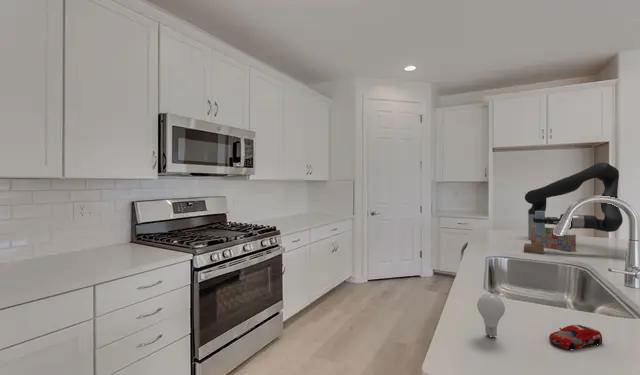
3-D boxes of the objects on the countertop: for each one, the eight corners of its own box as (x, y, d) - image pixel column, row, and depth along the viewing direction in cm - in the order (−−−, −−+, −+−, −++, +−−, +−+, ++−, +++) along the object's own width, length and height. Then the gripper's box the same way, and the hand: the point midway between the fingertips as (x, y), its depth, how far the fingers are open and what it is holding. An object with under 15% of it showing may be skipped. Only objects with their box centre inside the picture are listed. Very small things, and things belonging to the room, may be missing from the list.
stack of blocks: (576, 250, 183) (576, 229, 183) (569, 252, 180) (569, 229, 180) (536, 244, 202) (536, 224, 202) (530, 245, 199) (530, 225, 199)
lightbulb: (473, 331, 87) (472, 290, 87) (497, 331, 87) (496, 290, 87) (484, 342, 81) (484, 299, 81) (510, 342, 81) (509, 299, 81)
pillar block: (535, 232, 183) (535, 210, 182) (543, 232, 181) (543, 211, 181) (536, 233, 179) (536, 211, 179) (544, 233, 177) (544, 211, 177)
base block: (524, 250, 188) (524, 243, 188) (543, 251, 182) (543, 244, 182) (524, 253, 180) (523, 245, 180) (543, 255, 175) (543, 247, 175)
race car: (564, 353, 76) (564, 336, 76) (543, 342, 82) (543, 326, 81) (607, 345, 79) (607, 329, 79) (585, 335, 85) (584, 320, 84)
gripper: (568, 213, 180) (532, 212, 187) (575, 215, 167) (535, 214, 175) (568, 226, 180) (532, 225, 187) (575, 230, 167) (535, 228, 175)
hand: (533, 220), depth 181 cm, fingers closed on pillar block, 4 cm apart
